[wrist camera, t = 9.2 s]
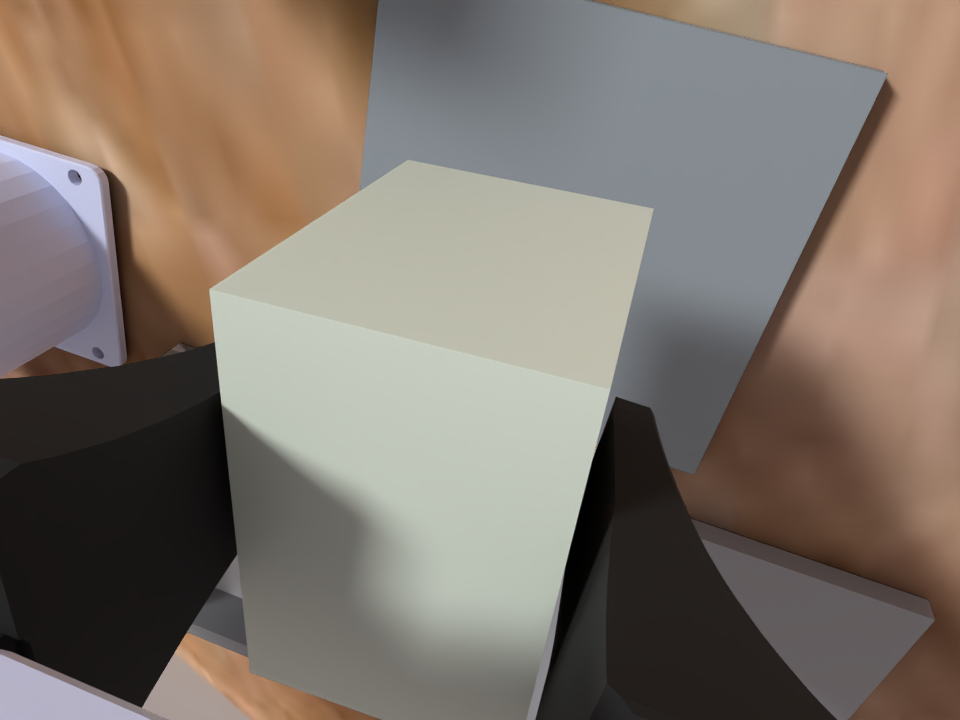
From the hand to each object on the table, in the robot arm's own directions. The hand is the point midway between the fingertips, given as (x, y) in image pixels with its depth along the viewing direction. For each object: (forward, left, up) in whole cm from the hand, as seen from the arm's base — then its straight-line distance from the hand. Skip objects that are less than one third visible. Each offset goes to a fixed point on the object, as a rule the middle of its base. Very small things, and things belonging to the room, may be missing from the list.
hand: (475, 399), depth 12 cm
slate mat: (0, 0, -9) cm, 9 cm away
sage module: (0, 0, -2) cm, 2 cm away
